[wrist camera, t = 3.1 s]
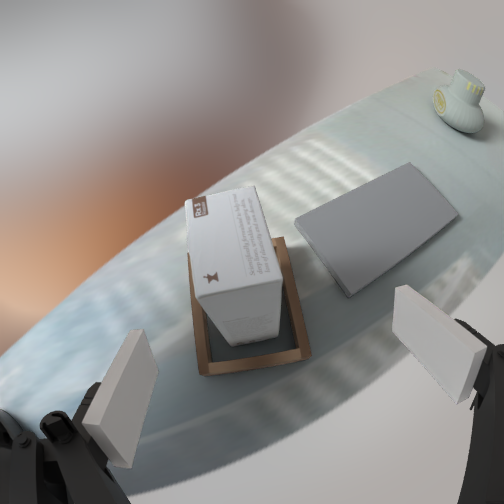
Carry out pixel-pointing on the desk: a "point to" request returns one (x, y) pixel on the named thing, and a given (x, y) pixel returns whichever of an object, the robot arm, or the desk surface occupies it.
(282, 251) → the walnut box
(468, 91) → the air freshener
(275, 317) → the skincare box
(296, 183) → the desk surface
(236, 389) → the desk surface
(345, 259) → the slate board
